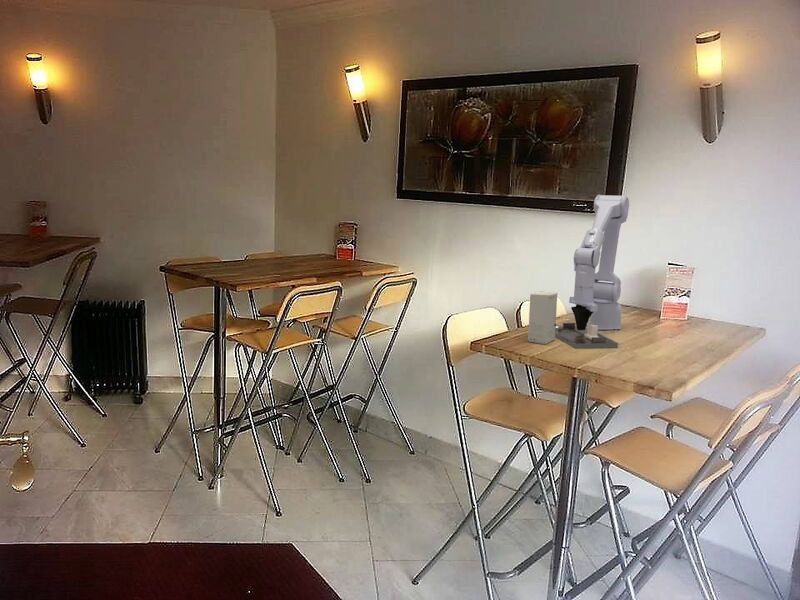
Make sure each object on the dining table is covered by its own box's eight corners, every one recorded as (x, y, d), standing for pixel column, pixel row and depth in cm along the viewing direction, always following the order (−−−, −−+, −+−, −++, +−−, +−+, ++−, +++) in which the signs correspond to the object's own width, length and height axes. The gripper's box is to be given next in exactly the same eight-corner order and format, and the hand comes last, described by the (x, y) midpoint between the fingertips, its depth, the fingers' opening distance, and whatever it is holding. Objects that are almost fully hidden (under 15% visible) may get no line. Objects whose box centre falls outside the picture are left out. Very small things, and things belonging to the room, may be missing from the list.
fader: (592, 336, 181) (593, 323, 180) (599, 339, 177) (600, 326, 176) (584, 336, 180) (585, 323, 180) (591, 339, 176) (592, 326, 175)
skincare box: (545, 345, 176) (549, 295, 173) (526, 341, 179) (529, 293, 176) (555, 339, 183) (558, 291, 180) (536, 336, 186) (539, 289, 183)
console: (582, 330, 196) (583, 322, 195) (617, 347, 174) (618, 338, 174) (545, 331, 193) (545, 322, 193) (576, 348, 172) (576, 338, 172)
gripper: (561, 283, 189) (558, 324, 192) (583, 290, 175) (579, 335, 178) (582, 283, 190) (579, 324, 193) (605, 290, 176) (601, 335, 179)
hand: (580, 329), depth 185 cm, fingers closed
